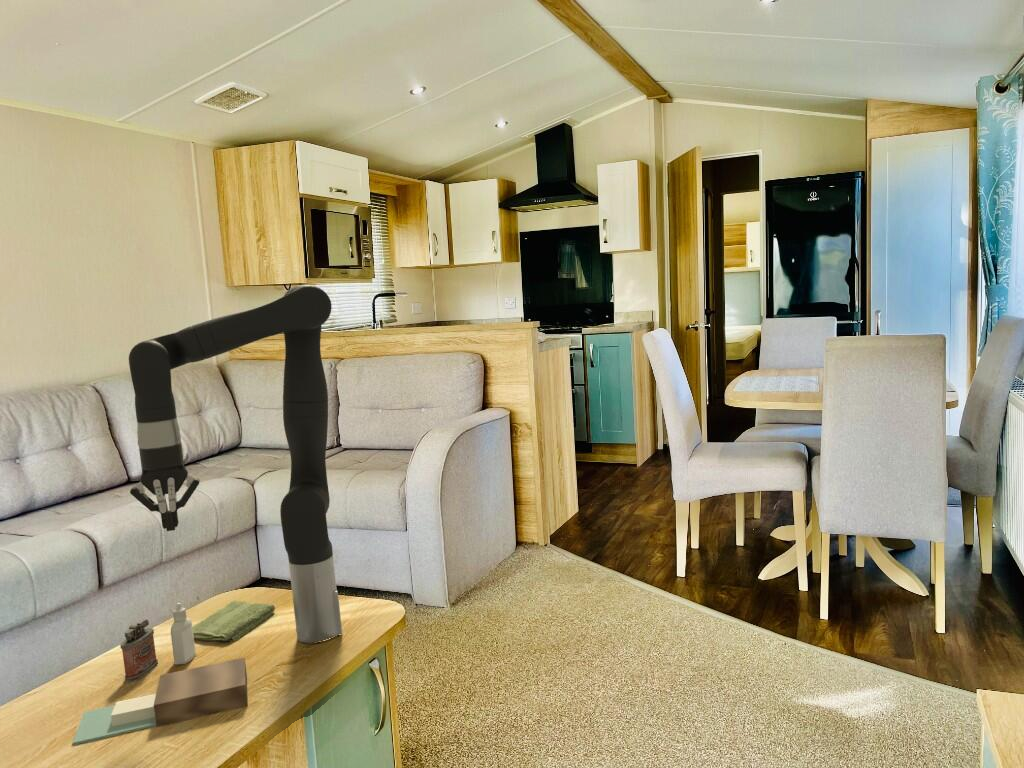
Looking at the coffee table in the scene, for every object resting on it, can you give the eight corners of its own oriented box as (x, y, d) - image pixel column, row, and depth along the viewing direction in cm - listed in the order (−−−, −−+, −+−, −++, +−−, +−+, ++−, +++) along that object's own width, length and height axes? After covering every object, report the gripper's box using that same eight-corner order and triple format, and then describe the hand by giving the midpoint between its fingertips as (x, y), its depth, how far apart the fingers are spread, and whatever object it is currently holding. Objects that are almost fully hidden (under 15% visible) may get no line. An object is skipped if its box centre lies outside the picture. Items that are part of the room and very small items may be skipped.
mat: (162, 696, 143) (162, 694, 143) (156, 725, 133) (156, 723, 133) (84, 713, 139) (84, 711, 139) (72, 745, 129) (72, 742, 128)
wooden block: (247, 676, 148) (244, 657, 148) (247, 705, 137) (245, 684, 137) (162, 695, 144) (160, 675, 143) (156, 727, 132) (153, 705, 132)
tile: (159, 703, 140) (158, 693, 140) (156, 717, 135) (154, 706, 135) (117, 712, 138) (116, 701, 137) (112, 726, 133) (110, 715, 133)
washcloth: (181, 642, 168) (179, 628, 168) (234, 610, 185) (233, 597, 185) (230, 646, 164) (228, 632, 164) (280, 613, 181) (278, 600, 180)
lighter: (135, 682, 150) (129, 633, 149) (120, 681, 151) (114, 633, 150) (162, 662, 158) (156, 616, 157) (147, 662, 158) (141, 616, 157)
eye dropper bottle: (203, 654, 160) (196, 599, 159) (180, 666, 155) (173, 610, 154) (189, 651, 162) (183, 597, 161) (166, 663, 157) (159, 607, 156)
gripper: (197, 436, 154) (207, 519, 156) (125, 444, 150) (136, 530, 152) (195, 441, 147) (206, 529, 149) (119, 450, 143) (131, 540, 145)
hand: (171, 529), depth 150 cm, fingers closed
